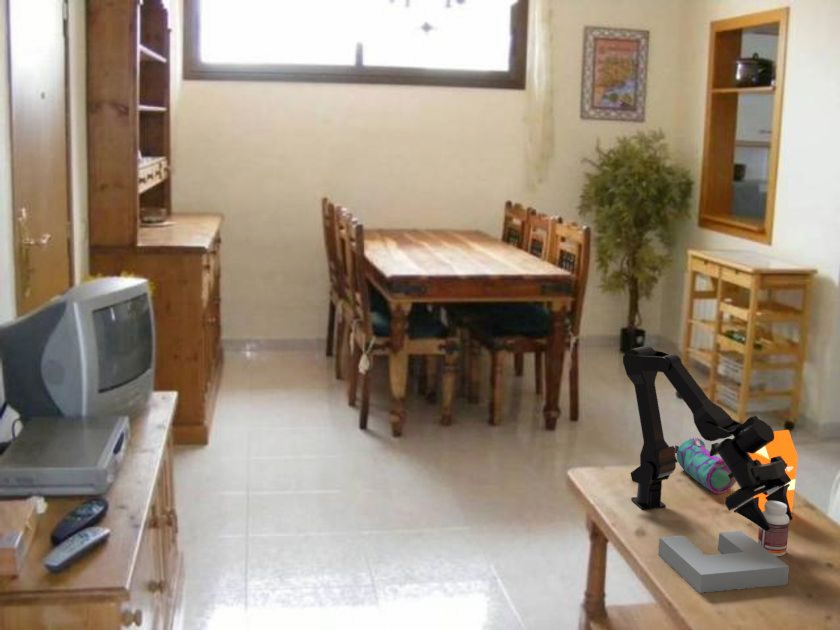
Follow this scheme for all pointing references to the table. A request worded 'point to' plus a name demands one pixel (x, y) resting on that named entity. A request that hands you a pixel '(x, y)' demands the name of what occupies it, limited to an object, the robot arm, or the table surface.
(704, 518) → the table surface
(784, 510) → the pill bottle
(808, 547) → the table surface
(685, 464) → the pencil case
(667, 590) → the table surface
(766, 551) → the notched board
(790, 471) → the orange juice
